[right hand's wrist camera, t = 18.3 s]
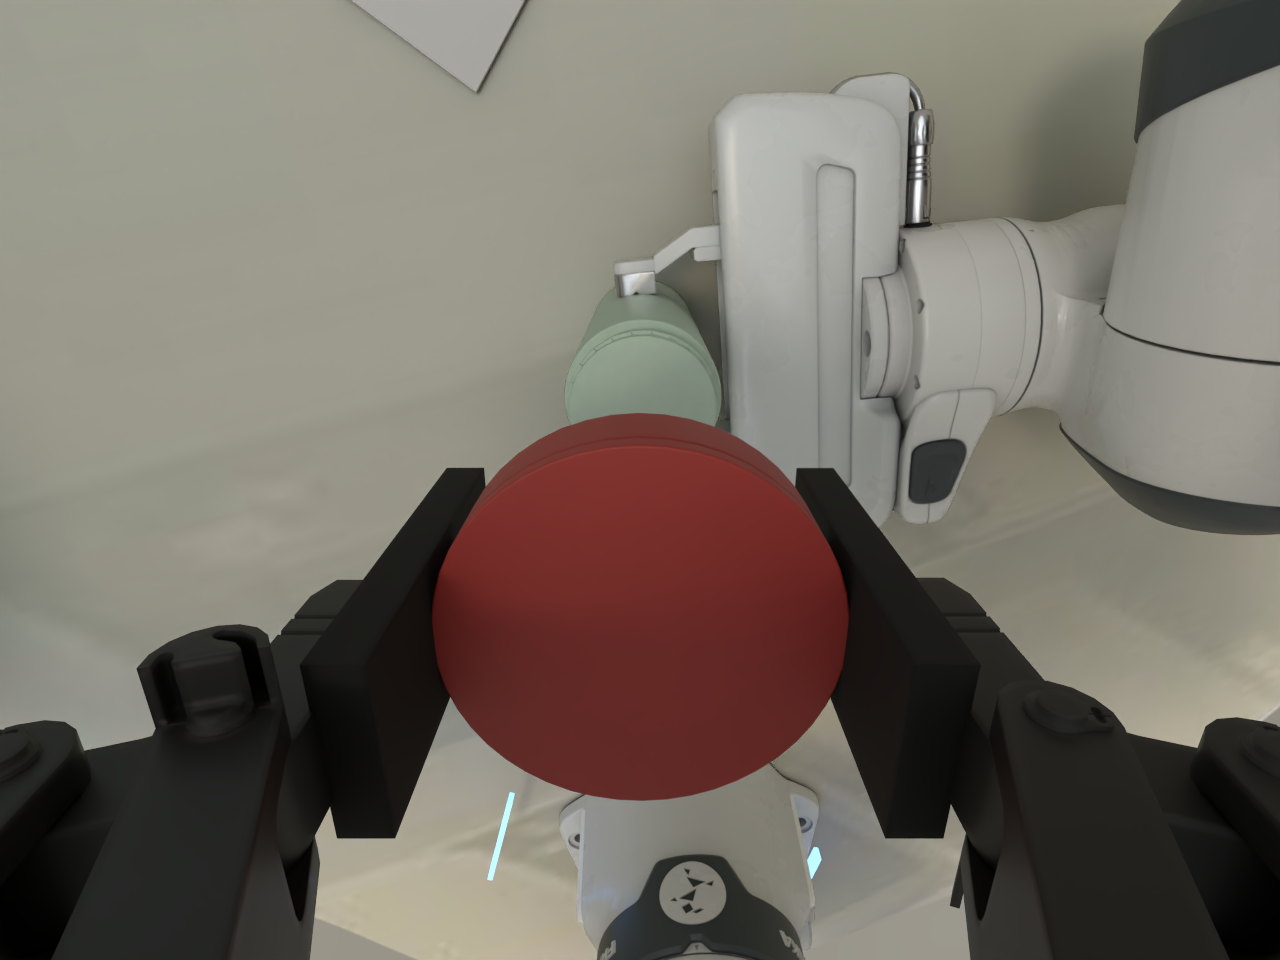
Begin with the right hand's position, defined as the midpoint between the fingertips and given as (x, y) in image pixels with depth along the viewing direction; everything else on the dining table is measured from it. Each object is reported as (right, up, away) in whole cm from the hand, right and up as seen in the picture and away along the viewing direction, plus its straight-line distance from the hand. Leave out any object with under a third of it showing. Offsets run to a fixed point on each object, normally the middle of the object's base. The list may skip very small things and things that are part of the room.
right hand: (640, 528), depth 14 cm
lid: (0, -1, -4) cm, 4 cm away
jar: (0, +9, +23) cm, 25 cm away
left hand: (-1, +7, +18) cm, 19 cm away
